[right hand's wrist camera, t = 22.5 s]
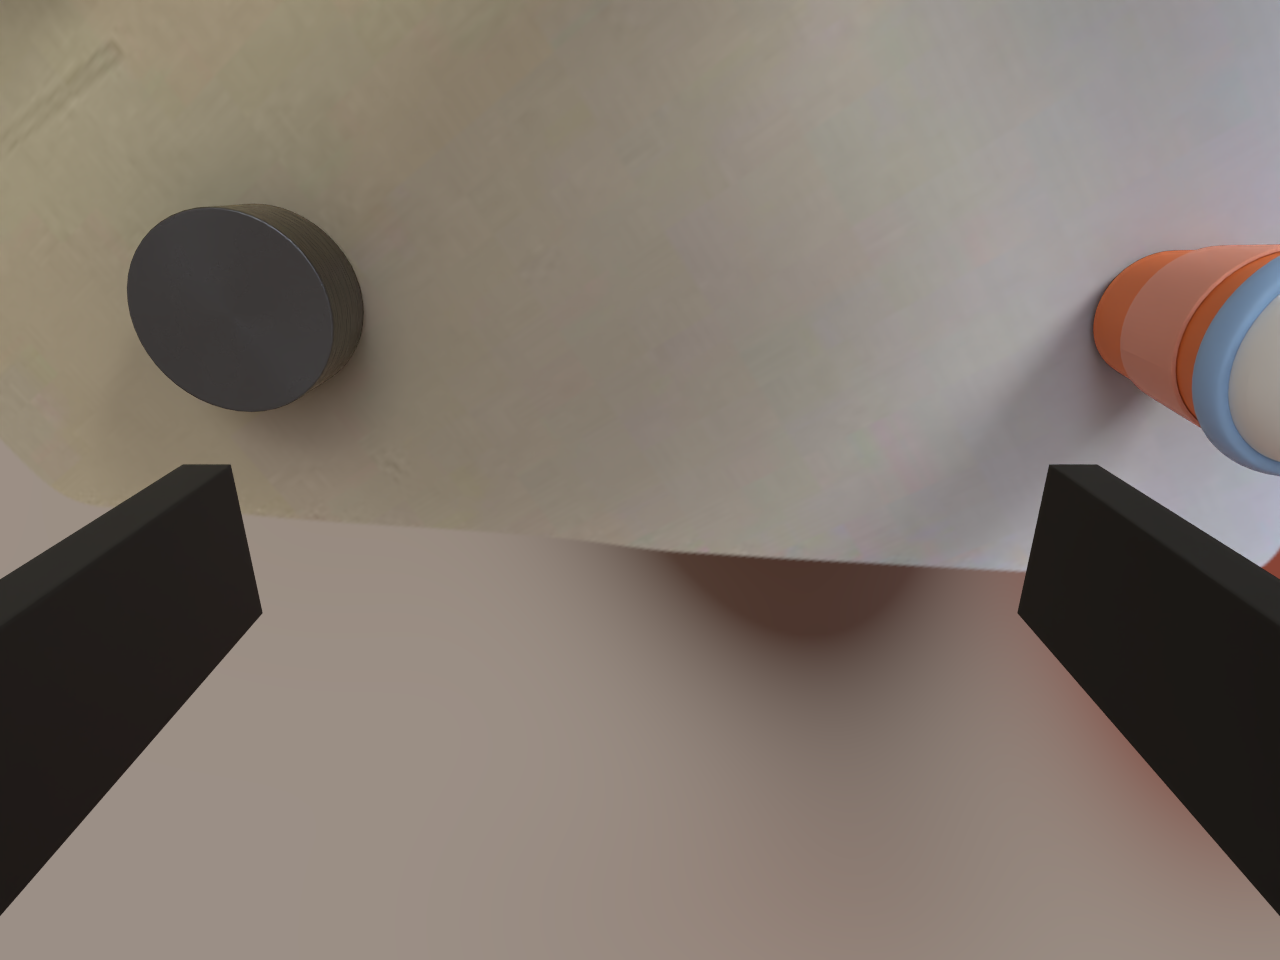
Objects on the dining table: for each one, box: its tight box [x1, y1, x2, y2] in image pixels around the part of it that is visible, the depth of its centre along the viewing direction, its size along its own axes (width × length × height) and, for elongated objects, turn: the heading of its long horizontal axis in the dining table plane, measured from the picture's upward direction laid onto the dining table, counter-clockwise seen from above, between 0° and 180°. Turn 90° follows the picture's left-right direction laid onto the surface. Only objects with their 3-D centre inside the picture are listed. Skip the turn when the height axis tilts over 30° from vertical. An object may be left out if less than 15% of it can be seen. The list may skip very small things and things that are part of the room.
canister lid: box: [127, 204, 363, 412], centre depth 35 cm, size 9×9×4 cm
